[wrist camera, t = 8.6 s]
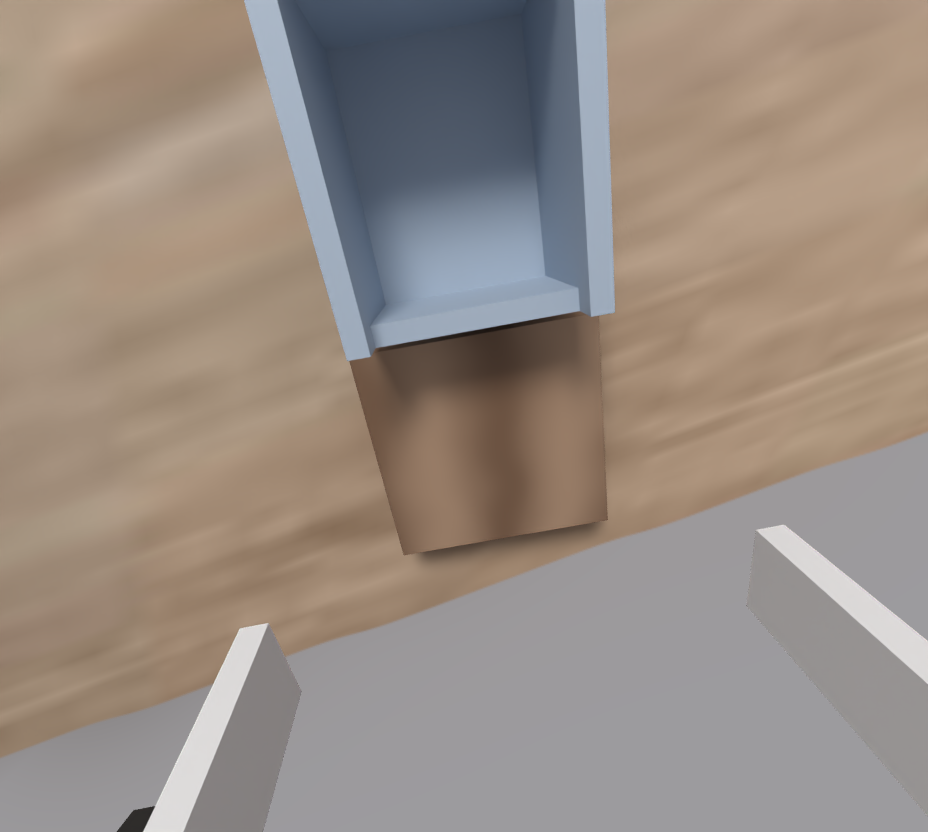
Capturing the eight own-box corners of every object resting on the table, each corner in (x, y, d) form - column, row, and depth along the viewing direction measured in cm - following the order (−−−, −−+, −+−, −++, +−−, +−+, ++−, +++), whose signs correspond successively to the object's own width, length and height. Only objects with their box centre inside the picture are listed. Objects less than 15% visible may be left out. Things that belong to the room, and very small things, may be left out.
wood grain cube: (407, 523, 26) (403, 555, 23) (359, 342, 21) (348, 357, 19) (590, 491, 25) (607, 520, 23) (578, 303, 21) (598, 312, 19)
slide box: (375, 322, 21) (347, 360, 14) (304, 37, 16) (218, -90, 10) (559, 288, 21) (615, 312, 14) (536, -7, 16) (599, -165, 10)
